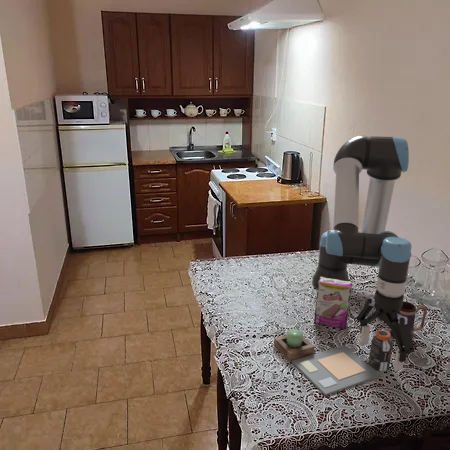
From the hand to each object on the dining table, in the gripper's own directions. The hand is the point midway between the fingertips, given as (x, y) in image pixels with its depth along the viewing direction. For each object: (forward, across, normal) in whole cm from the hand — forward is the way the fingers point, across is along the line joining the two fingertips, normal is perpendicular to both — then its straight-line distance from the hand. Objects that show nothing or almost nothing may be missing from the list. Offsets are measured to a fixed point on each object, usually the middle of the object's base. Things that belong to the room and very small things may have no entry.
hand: (380, 356), depth 127 cm
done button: (+1, -17, -19) cm, 26 cm away
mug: (+3, -8, +20) cm, 22 cm away
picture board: (+3, -4, -13) cm, 14 cm away
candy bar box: (+3, -25, +2) cm, 26 cm away
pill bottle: (+4, 0, 0) cm, 4 cm away
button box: (+3, -17, -19) cm, 26 cm away
